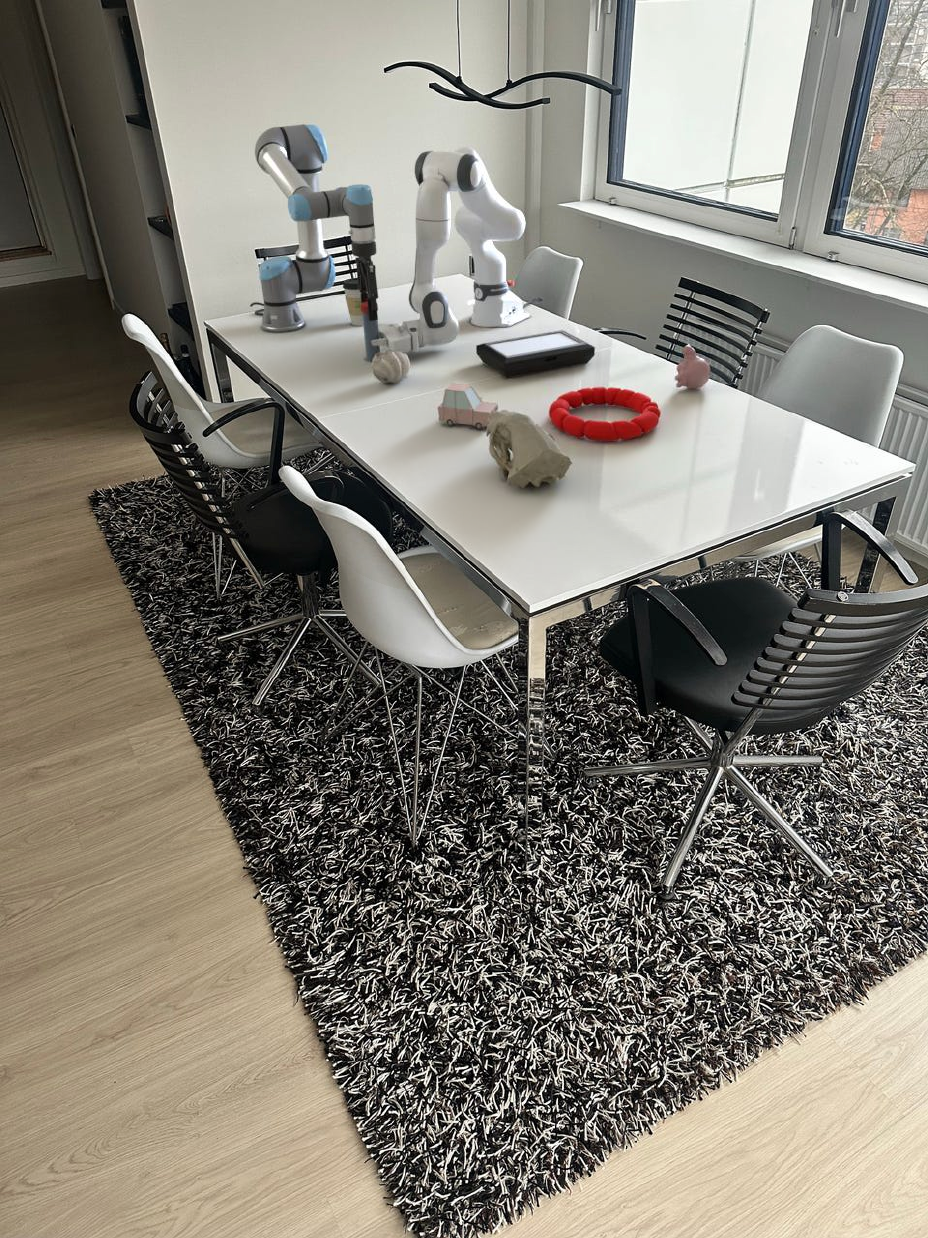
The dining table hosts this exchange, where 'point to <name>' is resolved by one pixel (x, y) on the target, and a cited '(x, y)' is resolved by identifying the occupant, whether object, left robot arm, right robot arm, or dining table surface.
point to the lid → (365, 307)
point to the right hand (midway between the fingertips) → (369, 339)
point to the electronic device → (535, 353)
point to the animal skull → (525, 450)
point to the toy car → (465, 406)
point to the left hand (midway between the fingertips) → (370, 316)
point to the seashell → (390, 366)
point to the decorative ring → (604, 428)
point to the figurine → (692, 370)
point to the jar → (370, 336)
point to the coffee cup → (353, 301)
